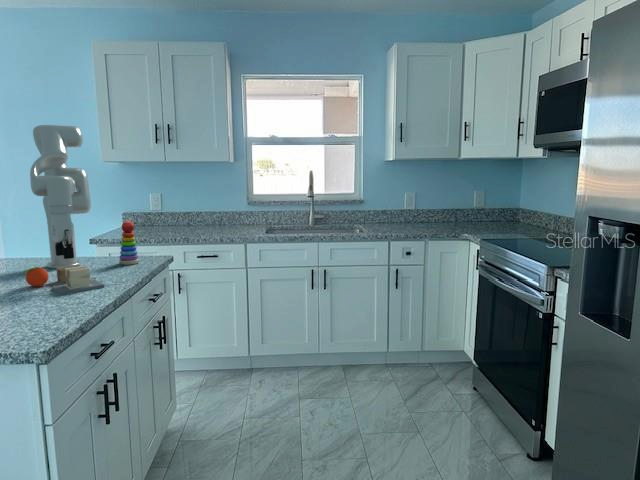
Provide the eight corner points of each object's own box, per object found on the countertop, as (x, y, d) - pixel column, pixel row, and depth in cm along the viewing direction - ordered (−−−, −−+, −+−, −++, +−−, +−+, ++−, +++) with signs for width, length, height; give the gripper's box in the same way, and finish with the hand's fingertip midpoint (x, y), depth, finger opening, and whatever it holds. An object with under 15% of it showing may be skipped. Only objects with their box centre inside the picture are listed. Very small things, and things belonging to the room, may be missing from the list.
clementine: (29, 290, 152) (27, 270, 151) (19, 287, 156) (17, 268, 154) (53, 285, 159) (51, 266, 158) (43, 282, 162) (41, 263, 161)
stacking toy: (131, 265, 191) (129, 222, 188) (115, 264, 192) (112, 222, 189) (142, 261, 198) (140, 220, 195) (126, 261, 200) (124, 220, 197)
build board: (52, 289, 154) (51, 286, 154) (94, 281, 164) (94, 279, 164) (60, 295, 147) (60, 291, 147) (104, 287, 157) (104, 284, 157)
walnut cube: (57, 281, 165) (56, 268, 164) (72, 279, 168) (71, 266, 167) (61, 284, 161) (60, 270, 160) (76, 281, 165) (75, 268, 164)
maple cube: (66, 284, 155) (64, 268, 154) (84, 282, 160) (83, 265, 159) (71, 288, 151) (70, 271, 150) (90, 285, 155) (88, 268, 154)
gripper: (42, 210, 163) (47, 255, 166) (55, 212, 151) (60, 261, 154) (65, 208, 169) (69, 253, 171) (79, 210, 156) (83, 258, 159)
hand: (65, 256), depth 162 cm, fingers open, 9 cm apart
